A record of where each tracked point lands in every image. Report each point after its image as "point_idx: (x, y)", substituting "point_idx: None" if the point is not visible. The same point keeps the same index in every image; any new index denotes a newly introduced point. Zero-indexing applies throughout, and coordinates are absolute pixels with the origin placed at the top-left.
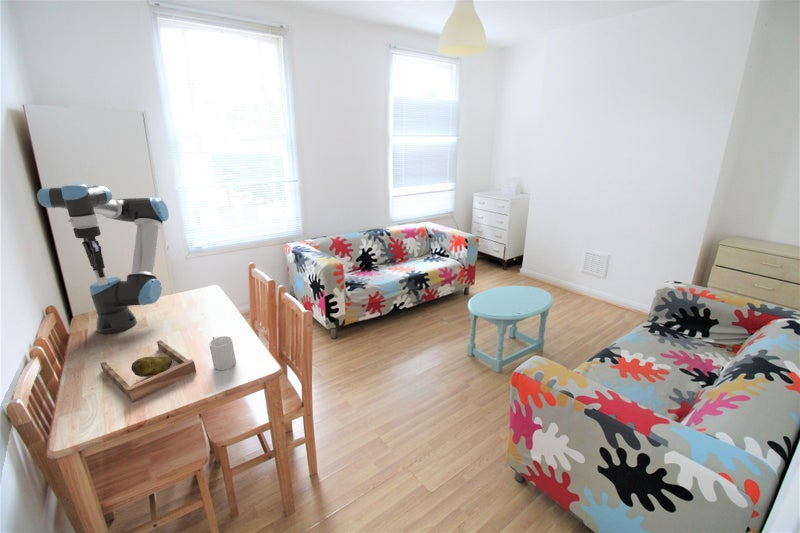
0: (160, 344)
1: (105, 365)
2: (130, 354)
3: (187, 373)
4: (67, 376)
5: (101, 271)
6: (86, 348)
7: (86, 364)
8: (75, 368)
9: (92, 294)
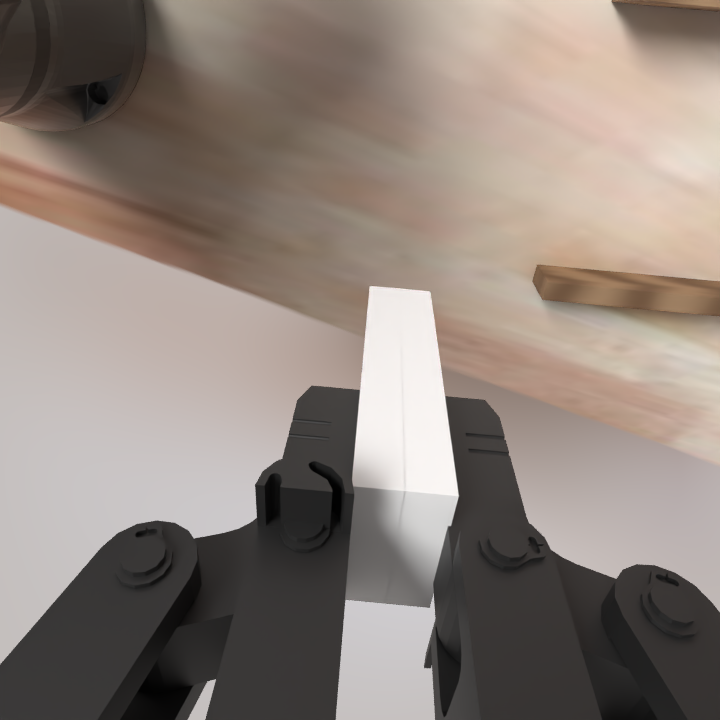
0: (695, 4)
1: (586, 295)
2: (503, 139)
3: None
4: None
5: (515, 515)
6: (230, 237)
7: None
8: None
9: None
